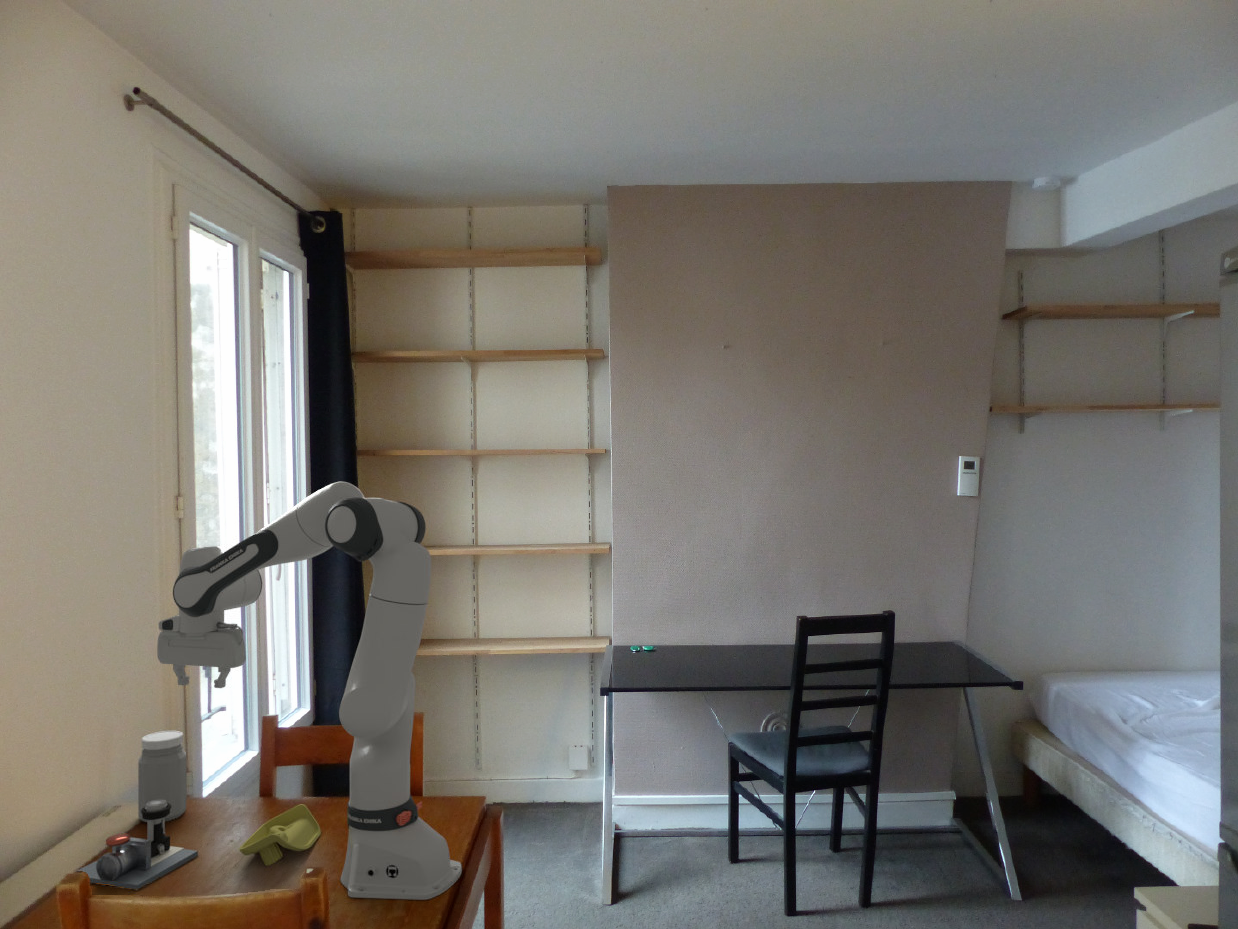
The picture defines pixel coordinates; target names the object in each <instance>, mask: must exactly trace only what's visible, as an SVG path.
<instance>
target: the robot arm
mask: <svg viewBox="0 0 1238 929" xmlns="http://www.w3.org/2000/svg"><path fill="white" fill-rule="evenodd" d="M426 525H427V524H426V520H425V517H424V515H423V513H422V512H421V511H420V510H419V509H418V508H417V507H415V506H413V505H411V504H409V503H406V502H403V501H394V500H390V499H385V498H382V497H365V495H364V494H363V493H362V490H360V488H358V487H357V486H355V485H354V484H352V483H350V482H347V481H337V482H332V483H330V484H328V485H325V486H324V487H322V488H321V489H318V490H317V491H315V492H313V493H311V494H310V495H308V496H307V497H305V498H304V499H303V500H301V501H300V502H298V503H297V504H296V505H295V506H293V507H292V508H291V509H289V510H288V511H286V512H284V513H283V514H282V515H281V516H279V517H278V518H276V519H275V520H273V521H272V522H271V523H269V524H267V525H266V526H264V527H263V528H261V529H260V530H258V531H257V532H255V533H253V534H252V535H250V536H248V537H247V538H245V539H244V540H241V541H240V542H238V543H236V544H235V545H234V546H232V547H230V548H228V549H227V550H225V551H224V549H223V548H222V547H220V546H217V545H207V546H202V547H194V548H190V549H187V550H186V551H185V552H183V553H182V556H181V559H180V564H179V572H178V575H177V578H176V579H175V581H174V585H173V588H172V597H173V598H172V599H173V601H174V603H175V605H176V606H177V607H178V614H177V615H174V616H172V617H169V618H164V619H162V620H160V621H158V630H159V631H161V632H159V633H158V635H157V636H158V637H157V647H156V651H157V652H156V656H157V660H158V661H159V663H160V664H161V665H162V664H165V665H172V671H173V672H174V674H175V676H176V677H177V685H178V686H187V685H189V684H190V675H187V674H186V671H185V669H184V668H186V666H190V667H191V666H196V667H208V668H217V672H218V673H219V675H218V677H217V679H214V680H213V683H214V685H213V687H214V688H215V689H223V688H225V687H226V685H227V683H226V682H227V678H228V676H229V675H230V673H231V669H236V668H238V667H242V666H244V664H245V662H246V660H247V659H246V658H247V654H246V653H247V652H246V645H245V644H246V643H245V639H244V631H243V629H242V627H241V626H240V625H238V624H237V623H235V622H231V623H228V622H225V611H228V610H229V611H230V610H234V609H239V608H243V607H244V608H245V607H247V606H249V605H252V604H254V603H256V602H257V600H258V599H259V597H260V595H261V594H262V590H263V589H262V588H263V578H262V576H261V573H260V571H259V570H262V569H264V568H268V567H273V566H278V565H281V564H282V565H283V564H288V563H296V562H301V561H306V560H309V559H312V558H315V557H317V556H319V555H321V554H323V553H325V552H326V551H329V550H330V549H331V548H332V547H334V548H336V549H338V550H339V551H341V552H343V553H345V554H348V555H349V556H351V557H352V558H353V559H354V560H356V561H357V562H360V563H362V562H365V561H367V560H368V561H369V562H370V564H371V565H372V570H373V571H372V572H373V573H372V574H373V575H372V581H371V584H370V585H371V586H370V589H369V594H368V600H367V605H366V610H365V616H364V620H363V626H362V630H361V635H360V639H359V642H358V644H357V648H356V651H355V654H354V656H353V661H352V664H351V667H350V671H349V674H348V678H347V681H346V684H345V688H344V691H343V692H344V693H343V696H342V699H341V702H340V705H339V709H338V710H339V711H338V714H339V715H338V716H339V721H340V723H341V725H342V727H343V729H344V730H345V731H346V732H347V733H348V734H349V735H350V736H352V737H354V738H353V745H352V749H351V750H352V751H351V755H350V759H349V801H348V802H347V811H346V812H347V813H346V816H347V820H346V822H347V827H348V838H347V846H346V847H347V848H346V854H345V861H344V864H343V868H342V872H341V876H340V882H341V884H342V885H343V886H344V887H345V888H346V889H347V895H348V897H350V898H357V899H359V898H363V899H387V900H388V899H392V900H393V899H395V900H424V901H425V900H430V899H433V898H435V897H437V896H440V895H441V894H442V893H445V891H447V890H449V888H451V887H452V886H453V885H454V884H455V883H456V882H457V881H458V880H459V879H460V877H461V875H462V873H463V872H462V871H463V868H462V864H461V862H460V861H456V860H453V859H451V858H450V856H451V855H450V851H449V846H448V842H447V840H446V839H445V837H444V836H442V835H441V834H440V833H438V831H436V830H435V829H434V828H432V827H431V826H430V825H429V824H428V823H427V822H426V821H424V820H423V819H422V818H421V817H419V812H418V811H419V810H420V809H421V808H422V807H423V805H422V804H423V801H421V800H420V801H419V802H418V803H415V801H414V799H413V797H412V794H411V793H410V792H411V791H410V788H411V786H410V785H411V784H410V783H411V781H410V778H411V776H410V775H411V773H410V772H411V763H410V762H411V747H412V737H413V726H414V716H415V715H414V714H415V702H416V700H415V699H416V698H415V696H416V688H417V687H416V684H417V682H416V678H415V675H414V674H413V672H412V670H413V668H414V663H415V659H416V656H417V653H418V650H419V648H420V644H421V640H422V635H423V630H424V624H425V619H426V615H427V614H426V612H427V608H428V604H429V603H428V602H429V597H430V589H431V580H432V579H431V578H432V557H431V554H430V552H429V550H428V549H427V548H426V547H425V546H424V545H422V544H421V543H422V542H423V540H424V538H425V534H426V529H427V528H426V527H427V526H426Z"/></svg>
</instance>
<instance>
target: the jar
mask: <svg viewBox="0 0 1238 929" xmlns="http://www.w3.org/2000/svg"><path fill="white" fill-rule="evenodd" d="M183 743H184V733H183V732H182V731H178V730H162V731H157V732H152V733H148V734H146V735H145V736H143V737H141V749H142V750H141V755H140V756H139V758H138V759H137V760H138V764H137V766H138V768H137V769H138V773H137V774H138V787H137V788H138V790H137V791H138V793H137V794H138V799H137V802H138V804H137V805H138V808H137V810H138V811H137V812H138V818H139V819H140V820H141V822H143V823H146V822H147V820H146V819H143V818H142V813H141V809H142V808H144V807H146V804H147V803H148V802H150V801H153V800H166V803H169V804H171V809H170V814H169V815H167V816H166V817H165V821H167V822H170V821H173V820H175V818H176V819H178V818H179V817H181V816H182V815H183V814H184V813H185V811H186V810H187V752H186V751H185V750H184V744H183ZM172 819H173V820H172Z"/></svg>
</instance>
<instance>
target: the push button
mask: <svg viewBox="0 0 1238 929" xmlns="http://www.w3.org/2000/svg"><path fill="white" fill-rule="evenodd" d="M170 809H171V804H169V803H166V800H153V801H150V802H148V803H147V804H146V807H144V808H142V809H141V813H142V818H143V819H146V820H147V824H146V826H147V830H146V831H147V836H146V838H147V840H151V858H153V857H155V856H156V855H158V854H162V853H164V851H167V850H169V849H170V846H171V835H169V836H168V835H166V831H165V830H166V828H165V826H166V825H165V817H166V816H167V815H169V814H170Z"/></svg>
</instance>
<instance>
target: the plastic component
mask: <svg viewBox="0 0 1238 929" xmlns="http://www.w3.org/2000/svg"><path fill="white" fill-rule="evenodd" d="M321 832H322V830H321V827H320V825H319V823H318V821H317V820H316V819H315V817H314V815H313V814H312V813H311V810H309V808H308V806H306V804H303V803H301V804H297V805H295V806H294V807H292V808H289V809H288V810H286V811H285V812H283V813H281V814H279V815H277V816H274V817H273V818H271V819H269V820H268V821H267V822H265V823H263V824H261V825H260V827H259V828H258V829H257V830H256V831H255V832H253V834H252V835H250V837H249V838H247V839H246V841H244V842H243V843H242V845H240V847H239V848H238V850H239V851H240V853H241V854H243V855H244V856H250V855H256V854H258V853H259V855H260V857H261V859H262V861H263V863H264V865H265V867H268V866H270V865H272V864H275V863H276V862H278V861H279V860H281V859H282V857H283V856H284V855H283V853H282V850H281V849H280V846H281V847H282V848H285V849H288V850H291V851H293V852H294V851H295V852H303V851H306V850H307V849H310V848H311V847H312V846H313V845H314V843H315V842H316V841H317V839H318V838H319V837H320V836H321V835H322V833H321ZM278 844H279V845H280V846H279V845H278Z"/></svg>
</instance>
